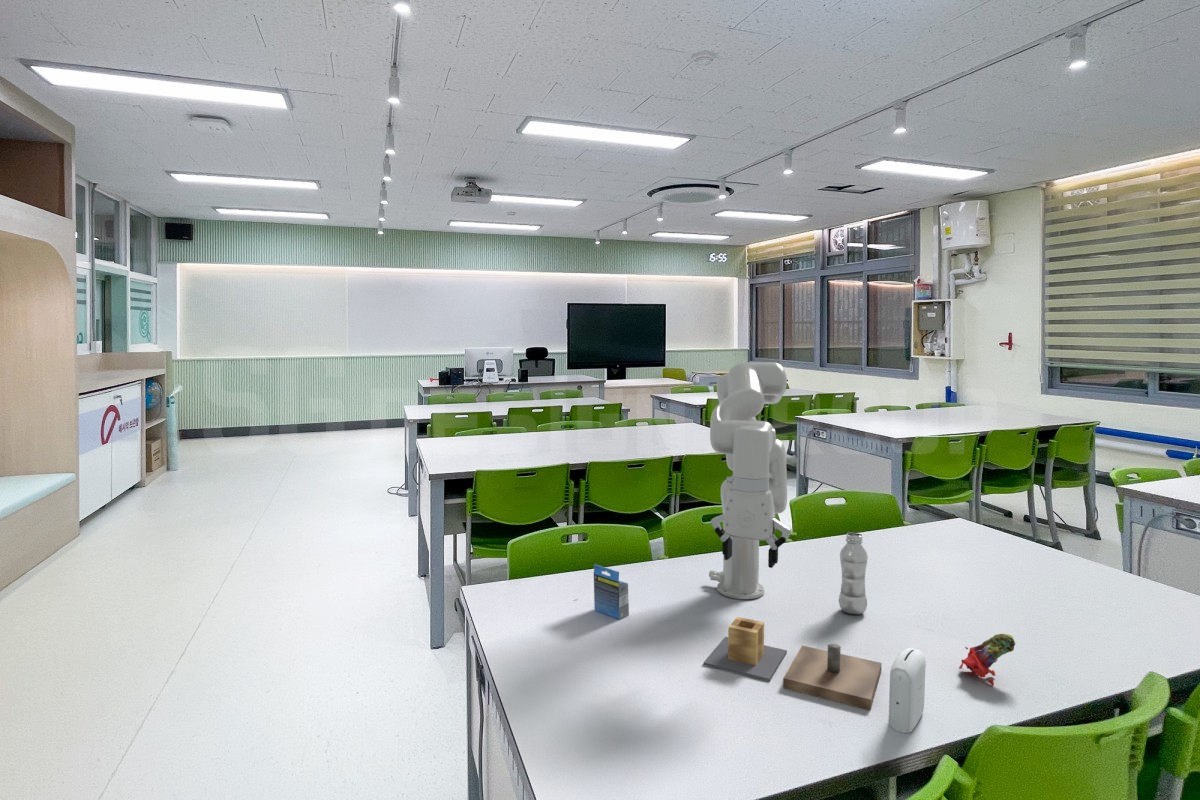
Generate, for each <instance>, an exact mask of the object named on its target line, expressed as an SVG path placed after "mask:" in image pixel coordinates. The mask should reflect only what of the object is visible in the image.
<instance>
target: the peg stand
mask: <svg viewBox="0 0 1200 800" xmlns="http://www.w3.org/2000/svg"><path fill="white" fill-rule="evenodd" d="M841 651H842V650H841V645H839V644H837V643H829V644H827V650H825V649H820V648H816V647H812V646H811V647H810V646H808V645H807V646H806V645H801V647H800V648H799V650H798V652H797V653H796V655H795V657H794V658H793V660H792V661H791V664H790V666H789V668H788V669H787V671H786V673H785V674H784V676H783V687H782V688H783V689H785V690H786V689H787V690H791V691H794V692H798V693H803V694H805V695H810V696H814V697H817V698H818V697H819V698H820V699H825V700H829V701H834V702H837V703H838V702H839V703H842V704H845V705H849V706H854V707H857V706H858V707H857V708H861V707H862V708H861V709H864V708H865V710H869V711H871V710H872V706H873V703H874V700H875V696H876V693H875V692H877V688H878V685H879V681H880V678H881V676H882V662H879V661H876V660H869V659H866V658H863V657H862V658H861V657H858V656H857V657H856V656H851V655H848V654H843V653H841ZM873 699H874V700H873Z"/></svg>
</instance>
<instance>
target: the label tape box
mask: <svg viewBox="0 0 1200 800" xmlns="http://www.w3.org/2000/svg"><path fill="white" fill-rule="evenodd" d="M593 566H594V567H593V594H594V596H593V597H594V598H593V599H594V600H593V601H594V603H593V604H594V611H596V612H597V613H600V612H601V613H600V614H603V613H604V615H606V614H607V615H606V616H609V617H612V618H614V619H618V620H623V619H624V618H627V617H628V616H629V615H630V610H629V609H630V608H629V607H630V605H629V604H630V603H629V602H630V601H629V583H628V582H625V581H621V580H620V578H619V577H620V572H619V571H618V570H613V569H611V568H608V567H605V566H602V565H599V564H596V563H594V565H593ZM603 572H605V573H607V574H605V573H603ZM608 574H609V575H608Z"/></svg>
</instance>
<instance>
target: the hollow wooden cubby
mask: <svg viewBox="0 0 1200 800" xmlns="http://www.w3.org/2000/svg"><path fill="white" fill-rule="evenodd" d="M727 628H728V633H727V635H728V636H727V637H728V659H731V660H735V661H739V662H744V663H748V664H752V665H757V663H758V662H759V660H760V659H761V657H762V656H763V654H764V645H765V621H760V620H754V619H749V618H745V617H741V616H736V617H735V619H734V620H733V621H732V623H731V624H729V626H728V627H727Z"/></svg>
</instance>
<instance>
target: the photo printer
mask: <svg viewBox="0 0 1200 800" xmlns="http://www.w3.org/2000/svg"><path fill="white" fill-rule="evenodd" d="M926 662H927V661H926V658H925V655H924V653H922V651H921V650H920V649H916V648H913V647H908V648H906V649H903V650H902V651H901V652H900V653H898V655H897V657H896V658H895V659H894V661H893V662H892V665H891V669H890V672H889V692H888V693H889V696H888V698H889V699H888V719H887V720H888V722H887V723H888V726H890V727H891V729H892V730H893V731H896V732H899V733H902V734H908V733H911V732H912V731H913V730H914V729H915V728H916V725H918V723H919V721H920V719H921V717H922V715H923V713H924V711H925V710H924V709H925V692H926V689H925V688H926V665H927V664H926Z"/></svg>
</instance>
